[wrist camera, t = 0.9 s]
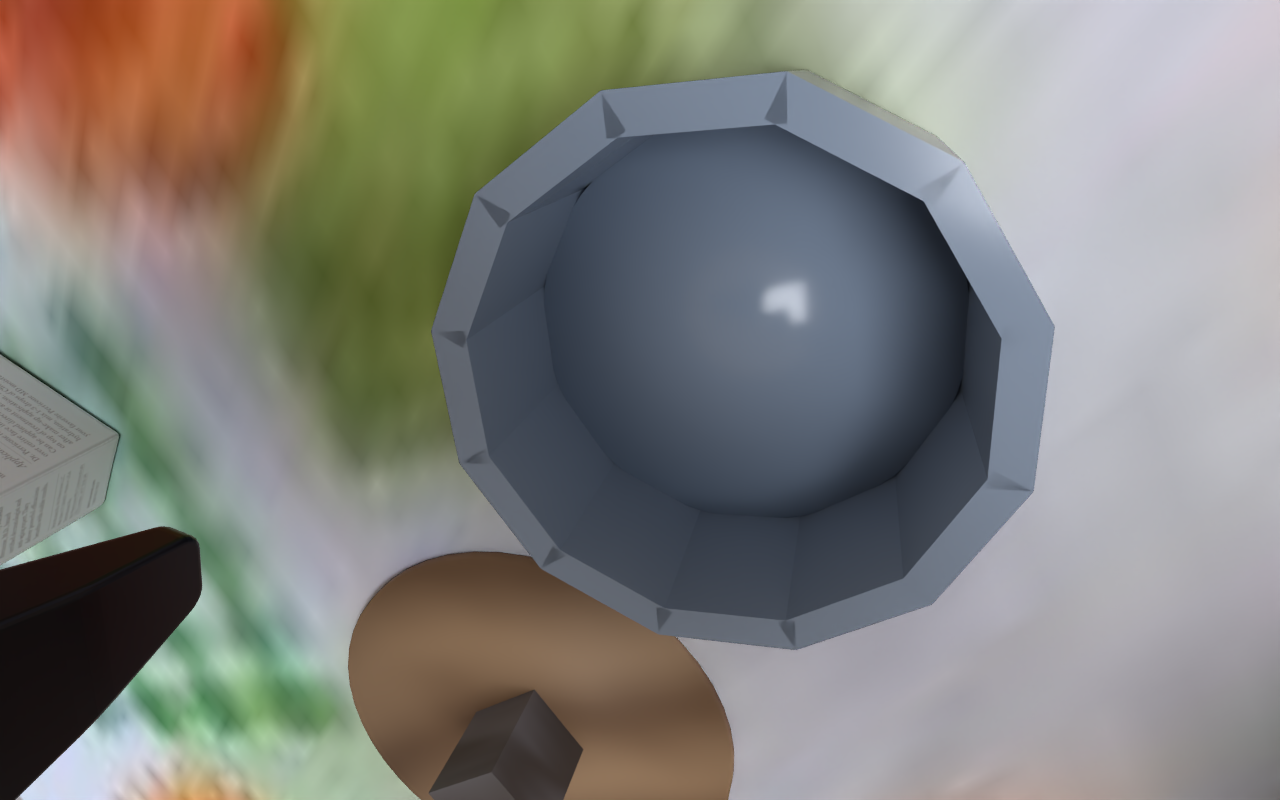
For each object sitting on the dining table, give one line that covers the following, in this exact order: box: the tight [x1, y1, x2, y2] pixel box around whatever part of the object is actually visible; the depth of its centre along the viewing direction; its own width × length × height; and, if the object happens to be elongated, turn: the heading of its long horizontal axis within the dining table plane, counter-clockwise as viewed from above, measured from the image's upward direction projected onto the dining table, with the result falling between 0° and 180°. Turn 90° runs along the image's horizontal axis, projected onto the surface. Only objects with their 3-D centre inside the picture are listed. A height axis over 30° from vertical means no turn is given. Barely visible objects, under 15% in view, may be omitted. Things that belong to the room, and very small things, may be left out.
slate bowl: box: [431, 70, 1055, 650], centre depth 17 cm, size 12×12×5 cm
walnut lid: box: [348, 552, 734, 800], centre depth 26 cm, size 15×15×4 cm
